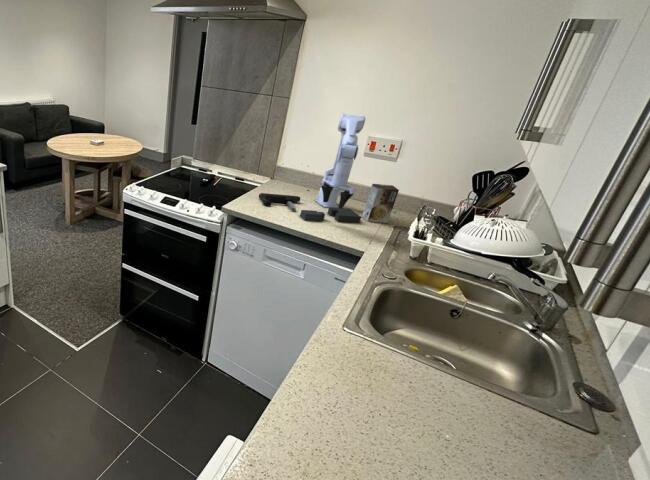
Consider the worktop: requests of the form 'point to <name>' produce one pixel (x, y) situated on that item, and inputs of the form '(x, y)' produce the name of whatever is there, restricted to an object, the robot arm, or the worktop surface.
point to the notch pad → (344, 215)
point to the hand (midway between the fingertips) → (332, 205)
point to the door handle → (279, 200)
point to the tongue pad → (312, 215)
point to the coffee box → (380, 203)
